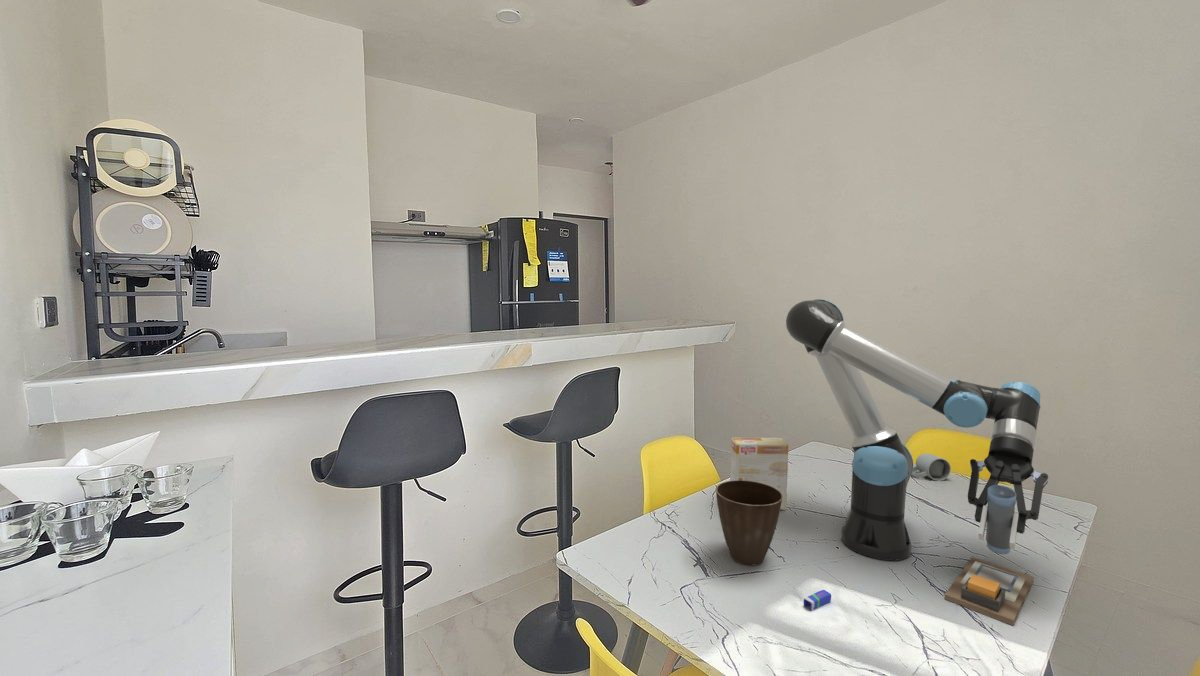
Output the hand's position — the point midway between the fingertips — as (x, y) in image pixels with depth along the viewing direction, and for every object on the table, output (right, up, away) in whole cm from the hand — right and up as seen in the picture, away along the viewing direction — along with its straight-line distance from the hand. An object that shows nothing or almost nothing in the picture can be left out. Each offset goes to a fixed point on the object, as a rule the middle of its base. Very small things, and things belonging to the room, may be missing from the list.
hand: (996, 540), depth 103 cm
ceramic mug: (+30, -6, +68) cm, 75 cm away
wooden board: (+2, -12, +3) cm, 12 cm away
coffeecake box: (-35, -8, +45) cm, 58 cm away
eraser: (-37, -13, -1) cm, 39 cm away
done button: (-4, -10, -1) cm, 11 cm away
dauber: (+4, -3, +5) cm, 8 cm away
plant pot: (-46, -11, +16) cm, 50 cm away
